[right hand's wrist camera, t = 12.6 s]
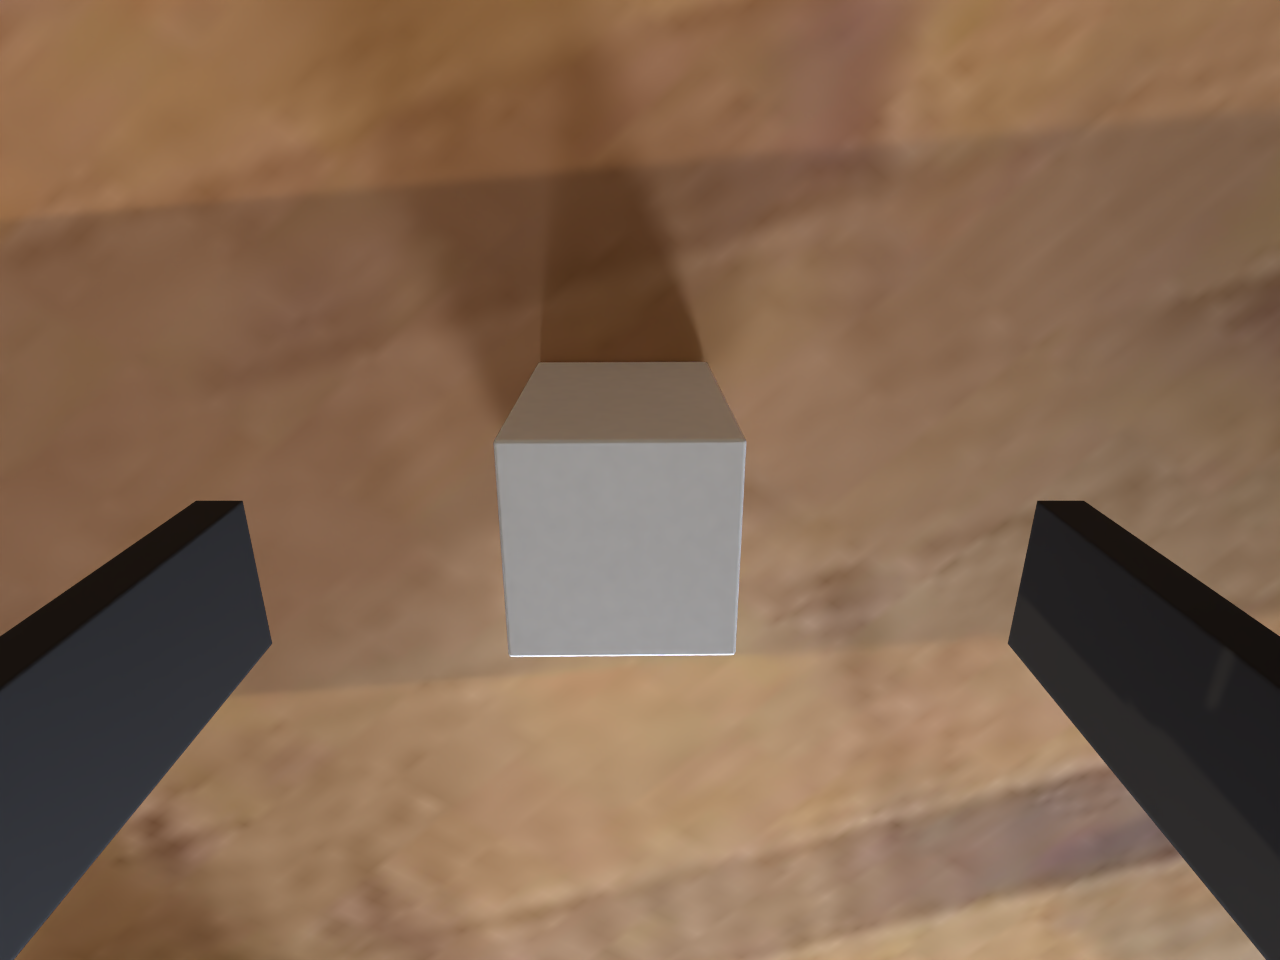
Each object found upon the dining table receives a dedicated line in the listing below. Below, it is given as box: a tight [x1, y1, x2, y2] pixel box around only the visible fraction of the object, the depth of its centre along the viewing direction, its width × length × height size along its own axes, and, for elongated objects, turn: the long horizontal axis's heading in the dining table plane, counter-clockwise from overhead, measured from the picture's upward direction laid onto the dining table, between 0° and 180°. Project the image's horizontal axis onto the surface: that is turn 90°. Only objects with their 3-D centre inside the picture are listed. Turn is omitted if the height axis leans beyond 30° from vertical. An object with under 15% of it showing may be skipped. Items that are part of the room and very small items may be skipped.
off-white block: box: [494, 362, 746, 657], centre depth 17 cm, size 4×4×7 cm
